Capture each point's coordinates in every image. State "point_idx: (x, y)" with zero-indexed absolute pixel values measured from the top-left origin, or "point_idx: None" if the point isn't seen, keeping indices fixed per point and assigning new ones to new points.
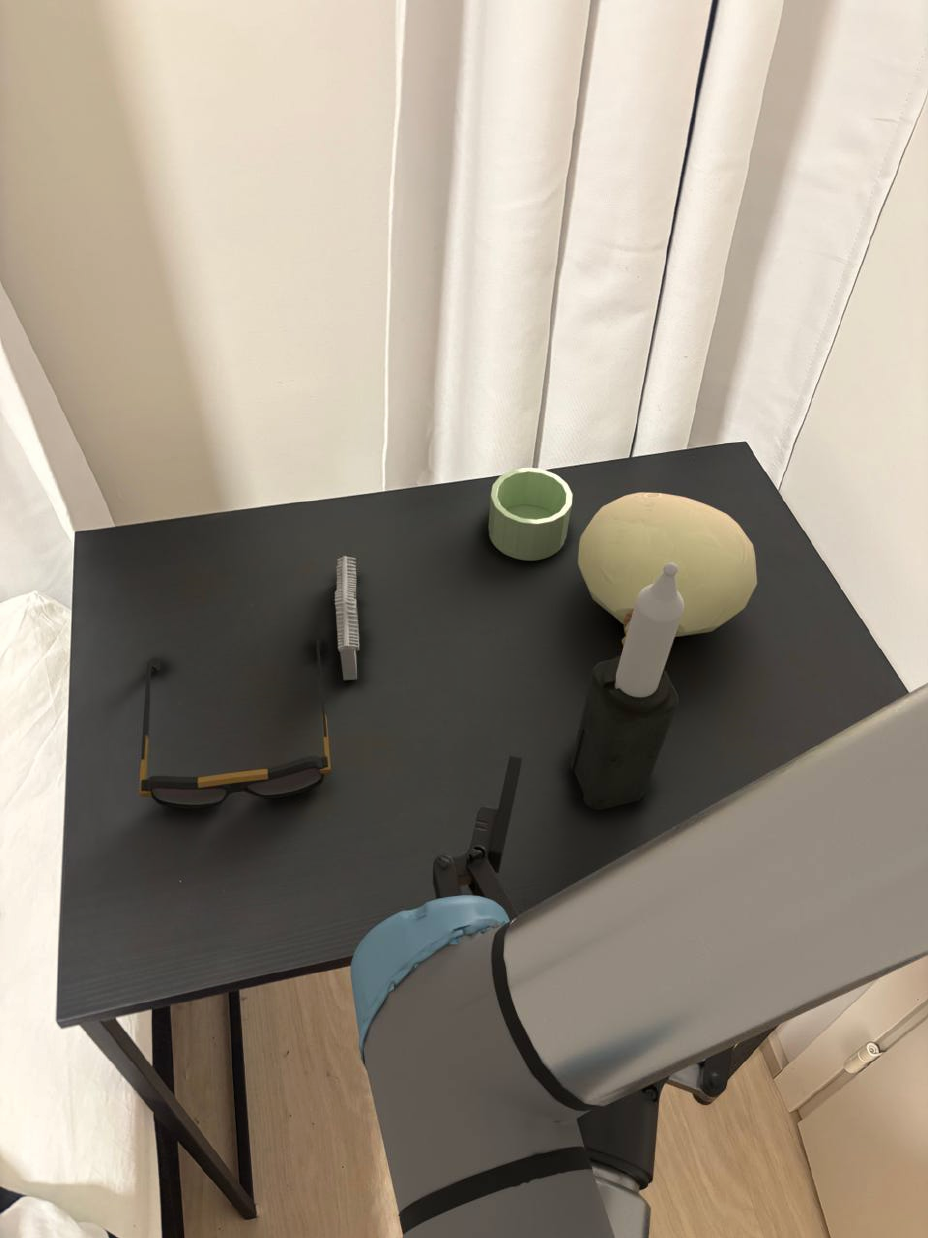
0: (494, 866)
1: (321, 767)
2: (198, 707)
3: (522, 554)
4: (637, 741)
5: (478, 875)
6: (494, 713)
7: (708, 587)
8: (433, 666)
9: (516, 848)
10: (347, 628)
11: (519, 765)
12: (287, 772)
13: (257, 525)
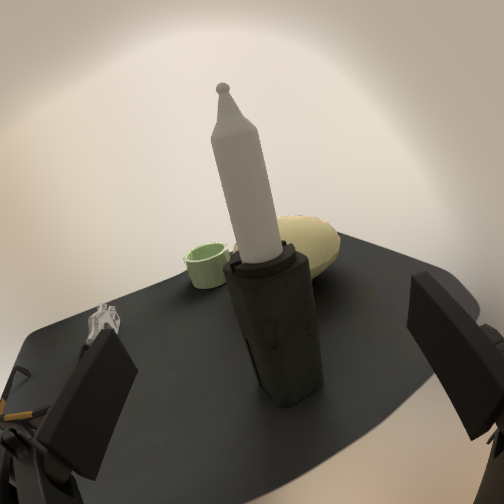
0: (75, 469)
1: None
2: (39, 391)
3: (209, 284)
4: (287, 316)
5: (18, 470)
6: (197, 366)
7: (311, 238)
8: (157, 350)
9: (223, 456)
10: (92, 330)
11: (108, 335)
12: (41, 412)
13: (85, 312)
